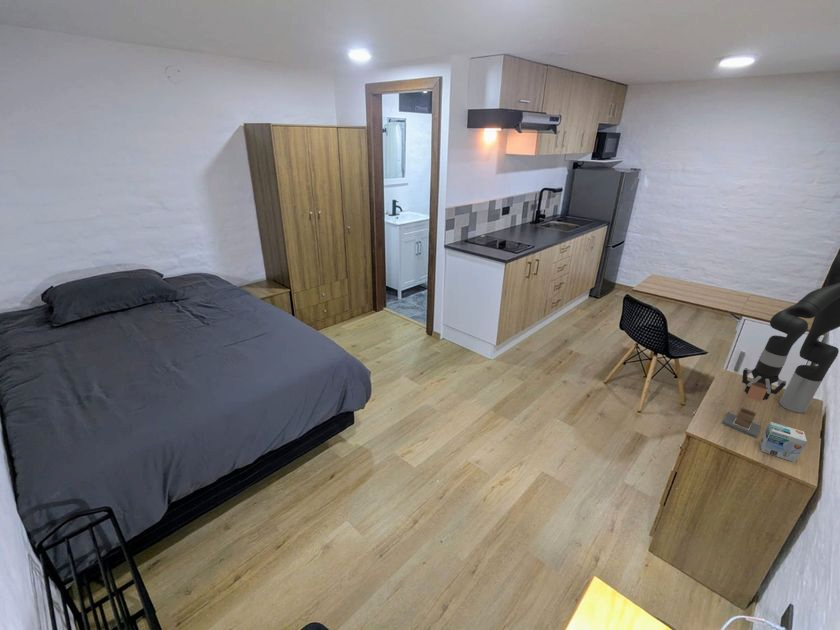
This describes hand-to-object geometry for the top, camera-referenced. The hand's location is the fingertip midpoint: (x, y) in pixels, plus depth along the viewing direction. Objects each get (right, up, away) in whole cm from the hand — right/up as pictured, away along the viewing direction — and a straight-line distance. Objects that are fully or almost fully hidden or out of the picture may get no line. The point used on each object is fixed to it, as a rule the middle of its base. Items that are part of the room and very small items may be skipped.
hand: (755, 396), depth 163 cm
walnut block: (0, -13, +6) cm, 15 cm away
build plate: (0, -14, +7) cm, 16 cm away
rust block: (0, 0, 0) cm, 0 cm away
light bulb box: (+3, -21, -6) cm, 22 cm away
